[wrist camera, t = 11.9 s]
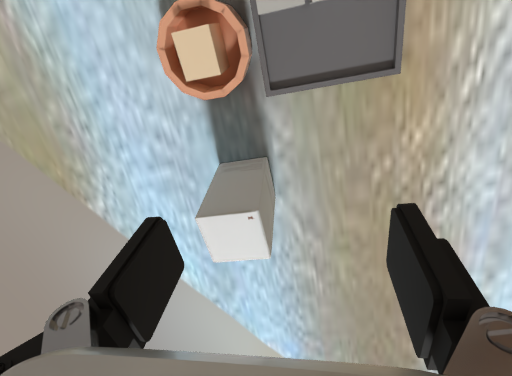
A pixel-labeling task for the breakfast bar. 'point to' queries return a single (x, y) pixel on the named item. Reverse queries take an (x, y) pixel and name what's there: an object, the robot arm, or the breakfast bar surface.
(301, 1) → the grey cube
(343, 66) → the tray
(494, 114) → the breakfast bar surface
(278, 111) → the breakfast bar surface
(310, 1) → the grey cube
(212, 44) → the beige rectangular block
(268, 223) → the supplement box
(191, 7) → the bowl
